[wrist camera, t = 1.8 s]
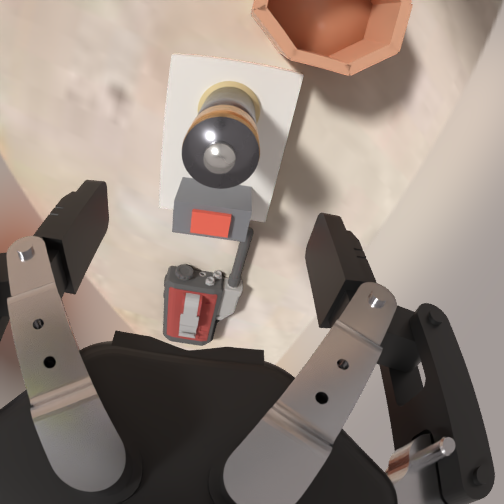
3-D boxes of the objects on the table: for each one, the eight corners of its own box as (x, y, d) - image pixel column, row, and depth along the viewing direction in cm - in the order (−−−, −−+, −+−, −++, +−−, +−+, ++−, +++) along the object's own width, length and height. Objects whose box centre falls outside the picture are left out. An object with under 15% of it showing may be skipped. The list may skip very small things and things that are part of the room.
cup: (267, -57, 15) (274, -80, 10) (385, -22, 16) (420, -29, 11) (243, 46, 21) (243, 51, 16) (359, 75, 22) (387, 89, 17)
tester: (175, 52, 21) (156, 60, 16) (300, 72, 22) (315, 84, 18) (162, 199, 30) (147, 236, 25) (264, 213, 31) (267, 253, 26)
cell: (206, 82, 21) (182, 115, 14) (260, 90, 22) (268, 128, 14) (198, 131, 24) (175, 189, 16) (249, 139, 24) (252, 200, 17)
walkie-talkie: (224, 335, 45) (259, 222, 32) (223, 361, 41) (261, 250, 29) (164, 326, 43) (173, 207, 31) (159, 351, 40) (164, 234, 27)
